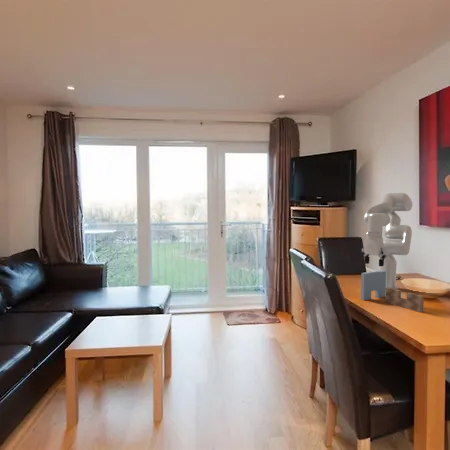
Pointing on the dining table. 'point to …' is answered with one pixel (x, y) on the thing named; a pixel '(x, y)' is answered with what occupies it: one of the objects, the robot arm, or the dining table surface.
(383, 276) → the slate slotted plate
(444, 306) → the dining table surface
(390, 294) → the mottled stone notched panel
